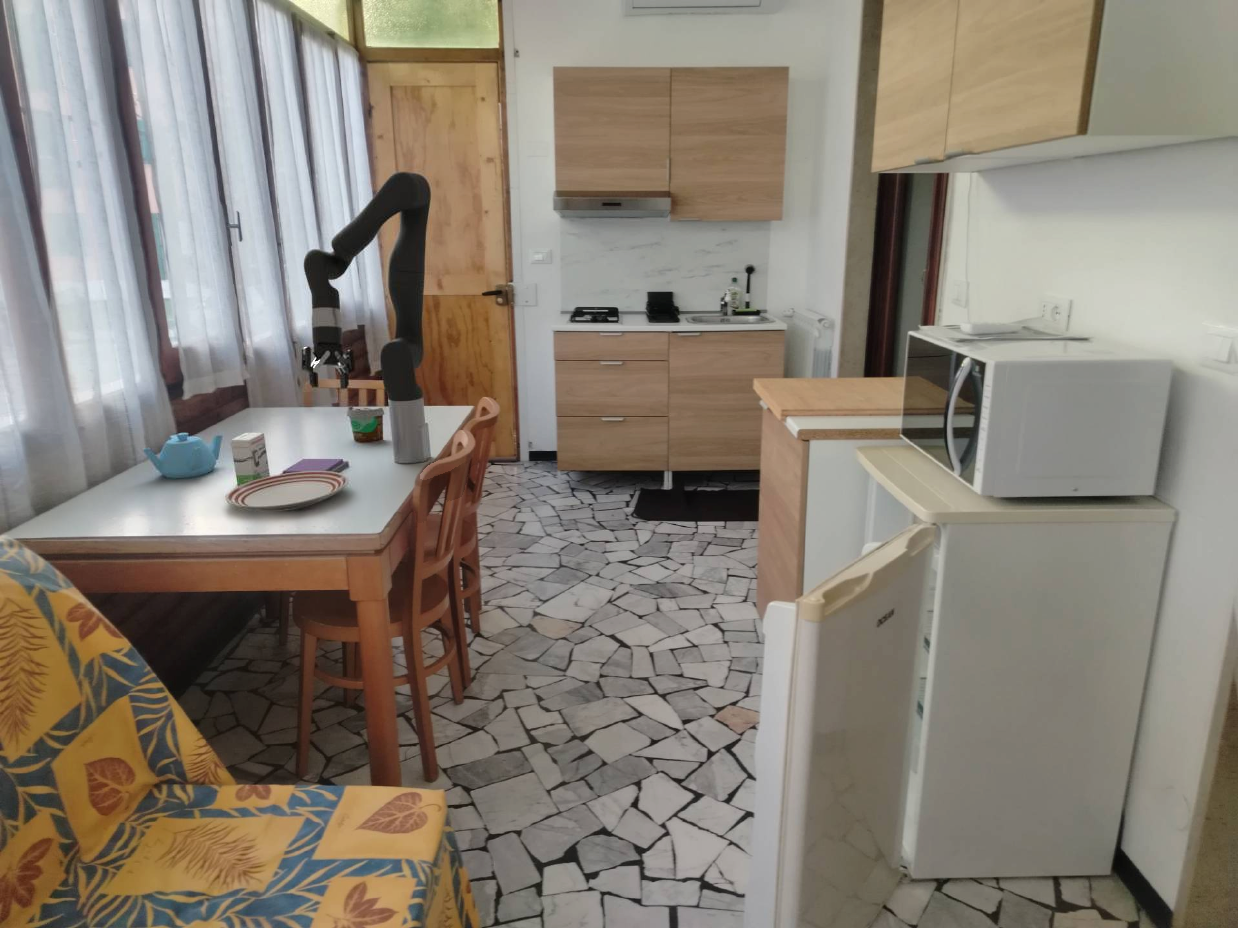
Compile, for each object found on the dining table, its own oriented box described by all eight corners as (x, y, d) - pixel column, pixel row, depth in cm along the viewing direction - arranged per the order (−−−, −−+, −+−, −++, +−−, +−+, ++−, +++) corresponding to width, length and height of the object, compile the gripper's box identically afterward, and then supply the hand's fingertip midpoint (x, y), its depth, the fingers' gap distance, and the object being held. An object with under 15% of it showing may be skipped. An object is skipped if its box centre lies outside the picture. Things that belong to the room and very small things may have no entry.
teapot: (230, 464, 231) (224, 426, 228) (204, 479, 216) (198, 439, 213) (176, 465, 231) (169, 427, 228) (146, 481, 216) (138, 441, 214)
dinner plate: (218, 524, 183) (215, 510, 182) (236, 489, 208) (234, 476, 207) (349, 510, 190) (347, 496, 189) (351, 477, 215) (349, 465, 214)
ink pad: (348, 465, 226) (347, 457, 225) (326, 480, 213) (325, 472, 212) (302, 465, 227) (301, 457, 227) (278, 480, 214) (276, 472, 213)
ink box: (255, 485, 210) (248, 440, 207) (236, 485, 211) (229, 440, 207) (270, 475, 218) (264, 431, 215) (252, 475, 219) (245, 432, 216)
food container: (340, 441, 252) (337, 409, 249) (354, 437, 258) (350, 405, 255) (374, 444, 248) (370, 411, 245) (387, 439, 253) (383, 407, 250)
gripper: (309, 322, 213) (312, 386, 214) (358, 327, 224) (361, 387, 225) (294, 326, 218) (297, 388, 218) (343, 331, 229) (345, 389, 229)
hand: (329, 388), depth 221 cm, fingers open, 8 cm apart
